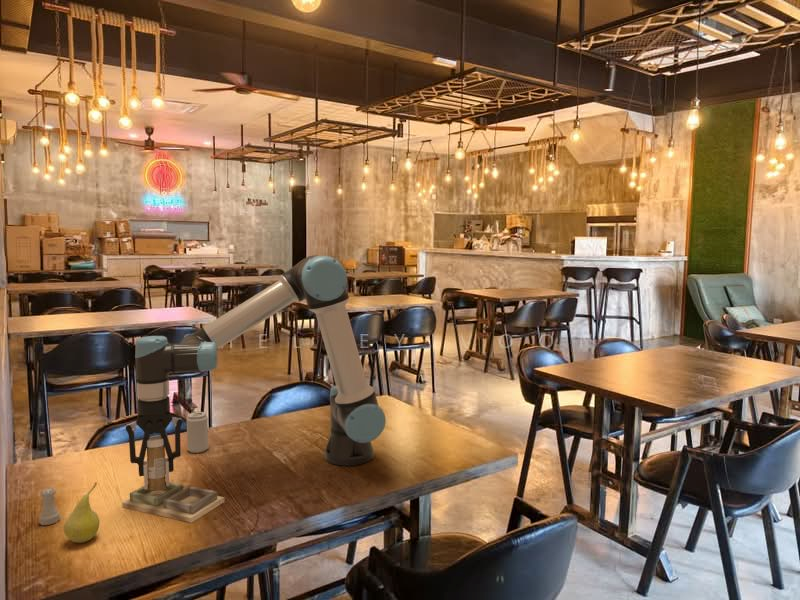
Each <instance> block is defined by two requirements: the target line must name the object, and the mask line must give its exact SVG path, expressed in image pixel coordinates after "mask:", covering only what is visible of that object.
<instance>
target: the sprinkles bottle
mask: <svg viewBox="0 0 800 600" xmlns="http://www.w3.org/2000/svg"><path fill="white" fill-rule="evenodd" d="M165 458H166V450H165V446H164V441H163V439H162V437H161V434H159V435H157V434H156V435H152V436H150V435H149V439H148V441H147V448H146V461H147V478H148V490H150V491H158V490H162V489H164V488H165V487H166V465H165Z"/></svg>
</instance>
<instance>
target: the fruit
mask: <svg viewBox="0 0 800 600" xmlns="http://www.w3.org/2000/svg"><path fill="white" fill-rule="evenodd" d="M97 484H98V482H97V481H95V482H94V484H93V486H92V487H91V488H90V490H89V491H88V492H87V493H86V494H84V495H83V496H82V497H81V498H80V500H79V501H78V502H77V504H76V506H75V507H74V509H73V510H72V511H71V513H70V514H69V516H68V517H67V519H66V520H65V522H64V524H63V532H64V535H65V536H66V537H67V538H68V539H69V540H70V541H71V542H73V543H76V544H77V543H78V544H83V543H86V542H88V541H90V540H91V539H93V538H94V537H95V536H96V535H97V534H98V531H99V529H100V517H99V515H98V514H97V512H96V511H93V510H92V507H91V504H90V494H91V493H92V491H93V490H94V489H95V488H96V486H97Z"/></svg>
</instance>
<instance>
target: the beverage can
mask: <svg viewBox="0 0 800 600" xmlns="http://www.w3.org/2000/svg"><path fill="white" fill-rule="evenodd" d="M208 421H209V420H208V416H207V412H204V411H195V412H191V413H188V414H187V417H186V438H187V441H186V442H187V447H186V448H187V451H189V452H190V453H191V454H200V453H204V452H206V451H207V450H208V449H209V423H208Z"/></svg>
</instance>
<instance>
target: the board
mask: <svg viewBox="0 0 800 600" xmlns="http://www.w3.org/2000/svg"><path fill="white" fill-rule="evenodd" d="M169 485H170V486H166V487H165V488H164V489H162V490H158V491H150V490H148V489H145V490H144V485H143V486H141V487H139V488H137V489H134V490H133V491H130V492H129V498H128V499H127V500H125V501H123V502H121V503H122V505H121V508H125V509H130V510H133V511H138V512H142V513H145V514H146V513H147V514H151V515H155V516H156V515H157V516H159V517H165V518H168V519H174V520H178V521H182V522H185V523H191V524H193V523H194V522H195V521H197V520H198V519H200V518H201V517H203V516H205V515H206V514H208V513H209V512H211V511H213V510H215V508H217V507H219V506H220V505H221V504H224V503H225V502H226V500H225V496H219V495H218V491H215V490H212V489H206V488H200V487H196V486H193V485H192V486H191V485H189V486H187V487H185V488H184V484H181V483H175V482H170V481H169Z"/></svg>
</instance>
